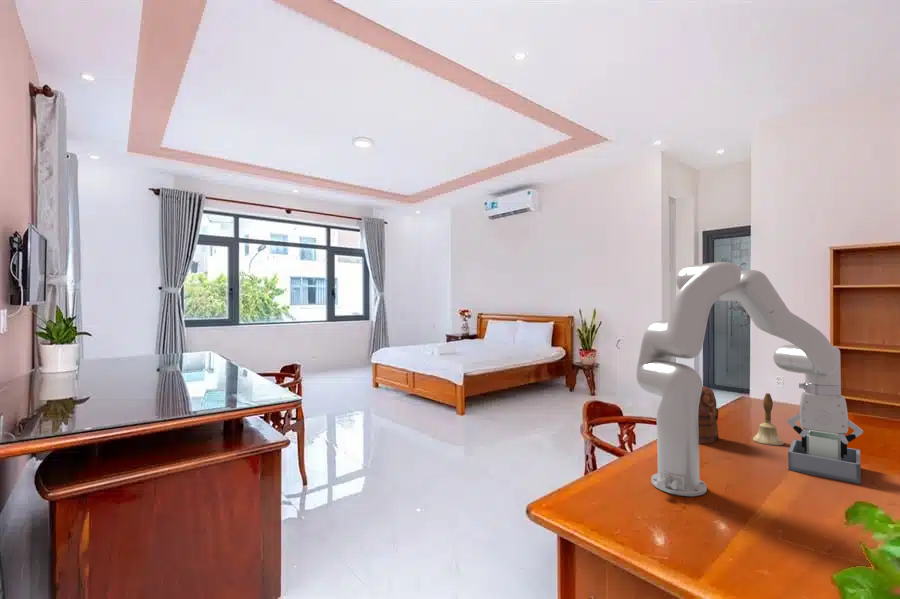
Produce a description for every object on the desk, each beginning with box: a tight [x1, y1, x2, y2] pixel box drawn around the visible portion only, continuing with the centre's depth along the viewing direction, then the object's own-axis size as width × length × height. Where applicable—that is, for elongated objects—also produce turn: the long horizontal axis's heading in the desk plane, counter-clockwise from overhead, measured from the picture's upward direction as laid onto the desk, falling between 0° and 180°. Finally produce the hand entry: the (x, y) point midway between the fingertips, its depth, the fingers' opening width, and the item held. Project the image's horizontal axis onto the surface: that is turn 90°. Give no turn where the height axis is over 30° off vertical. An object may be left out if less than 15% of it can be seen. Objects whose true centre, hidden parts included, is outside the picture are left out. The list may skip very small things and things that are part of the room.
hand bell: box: [752, 392, 785, 446], centre depth 144 cm, size 8×8×16 cm
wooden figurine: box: [698, 385, 720, 444], centre depth 147 cm, size 12×6×18 cm, turn 128°
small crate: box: [806, 430, 841, 461], centre depth 121 cm, size 7×7×6 cm
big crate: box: [787, 438, 862, 485], centre depth 121 cm, size 15×15×5 cm
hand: (824, 453), depth 121 cm, fingers closed on small crate, 6 cm apart
